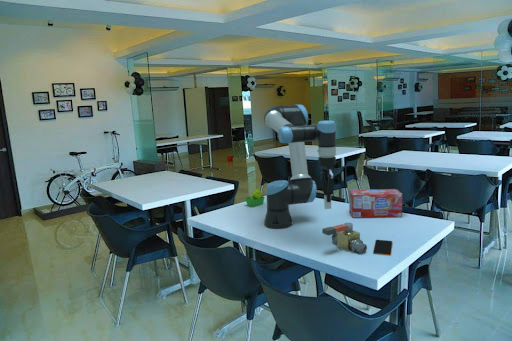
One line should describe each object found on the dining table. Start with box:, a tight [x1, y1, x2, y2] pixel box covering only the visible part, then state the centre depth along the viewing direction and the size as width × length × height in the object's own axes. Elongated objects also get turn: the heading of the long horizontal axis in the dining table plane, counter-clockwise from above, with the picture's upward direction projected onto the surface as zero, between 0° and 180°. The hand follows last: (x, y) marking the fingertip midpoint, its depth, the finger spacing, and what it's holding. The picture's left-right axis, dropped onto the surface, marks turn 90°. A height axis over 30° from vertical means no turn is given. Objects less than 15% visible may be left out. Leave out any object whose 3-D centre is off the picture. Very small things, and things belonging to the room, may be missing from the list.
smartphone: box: [372, 239, 393, 257], centre depth 175 cm, size 8×17×1 cm, turn 159°
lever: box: [321, 222, 354, 236], centre depth 173 cm, size 4×15×4 cm, turn 119°
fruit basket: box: [244, 188, 266, 208], centre depth 252 cm, size 11×9×11 cm
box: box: [348, 188, 403, 219], centre depth 222 cm, size 27×13×14 cm, turn 85°
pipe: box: [331, 230, 368, 255], centre depth 177 cm, size 18×7×8 cm, turn 29°
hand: (327, 208), depth 177 cm, fingers closed
